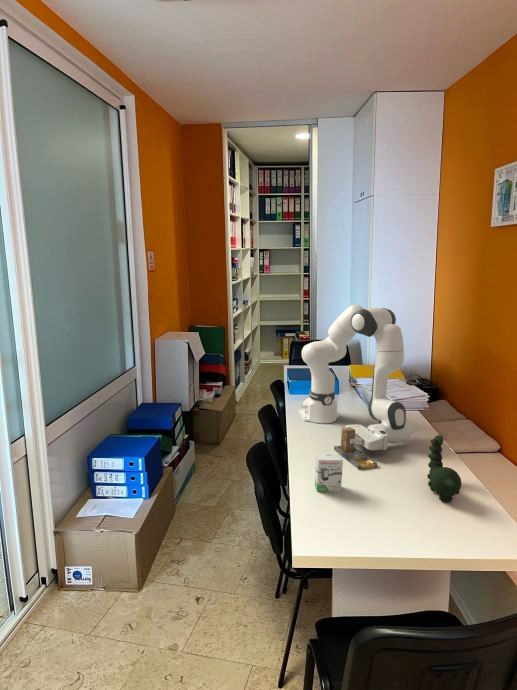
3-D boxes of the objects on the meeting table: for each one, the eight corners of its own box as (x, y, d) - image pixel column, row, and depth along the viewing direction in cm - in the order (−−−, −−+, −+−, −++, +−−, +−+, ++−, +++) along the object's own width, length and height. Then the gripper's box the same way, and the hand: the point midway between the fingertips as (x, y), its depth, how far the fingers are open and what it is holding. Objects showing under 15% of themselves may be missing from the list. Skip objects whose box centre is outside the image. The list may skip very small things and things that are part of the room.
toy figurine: (419, 480, 184) (435, 509, 159) (422, 430, 182) (439, 451, 157) (446, 482, 183) (466, 511, 158) (449, 431, 181) (470, 453, 156)
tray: (334, 449, 207) (334, 446, 207) (351, 447, 210) (351, 444, 209) (358, 469, 188) (359, 466, 188) (377, 467, 191) (377, 463, 191)
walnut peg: (340, 451, 206) (341, 427, 204) (349, 449, 207) (350, 426, 205) (345, 454, 202) (346, 431, 200) (354, 453, 203) (355, 430, 201)
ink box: (316, 492, 171) (317, 459, 169) (314, 485, 176) (315, 453, 173) (341, 492, 171) (343, 459, 169) (339, 485, 176) (340, 453, 174)
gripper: (363, 419, 217) (334, 422, 212) (390, 436, 198) (359, 440, 193) (362, 433, 218) (333, 436, 213) (388, 451, 199) (358, 455, 194)
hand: (346, 438), depth 203 cm, fingers closed on walnut peg, 4 cm apart
